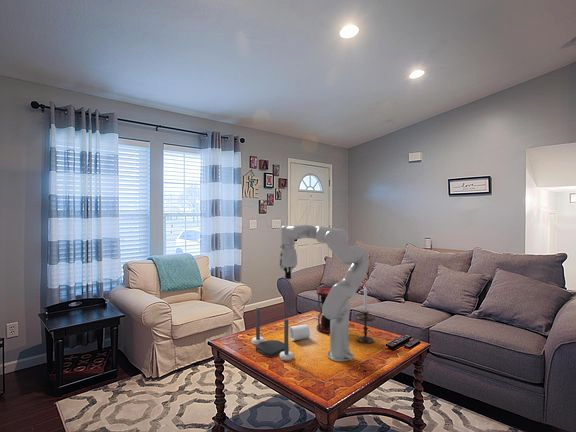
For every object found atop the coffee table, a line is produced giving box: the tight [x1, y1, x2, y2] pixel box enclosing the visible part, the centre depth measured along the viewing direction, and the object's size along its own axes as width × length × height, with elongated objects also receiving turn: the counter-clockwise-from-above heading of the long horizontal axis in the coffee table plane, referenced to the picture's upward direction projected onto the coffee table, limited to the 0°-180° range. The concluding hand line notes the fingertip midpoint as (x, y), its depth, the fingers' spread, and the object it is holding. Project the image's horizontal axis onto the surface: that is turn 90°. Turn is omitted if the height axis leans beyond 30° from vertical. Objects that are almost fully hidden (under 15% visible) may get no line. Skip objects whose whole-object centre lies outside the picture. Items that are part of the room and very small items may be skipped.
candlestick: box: [355, 281, 376, 345], centre depth 198 cm, size 11×11×35 cm
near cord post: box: [279, 318, 294, 362], centre depth 177 cm, size 7×7×20 cm
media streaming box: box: [255, 339, 284, 358], centre depth 187 cm, size 15×15×3 cm
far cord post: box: [251, 307, 265, 346], centre depth 197 cm, size 7×7×20 cm
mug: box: [288, 323, 311, 342], centre depth 203 cm, size 12×10×8 cm
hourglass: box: [316, 287, 332, 335], centre depth 216 cm, size 16×16×25 cm
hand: (288, 278), depth 196 cm, fingers closed
